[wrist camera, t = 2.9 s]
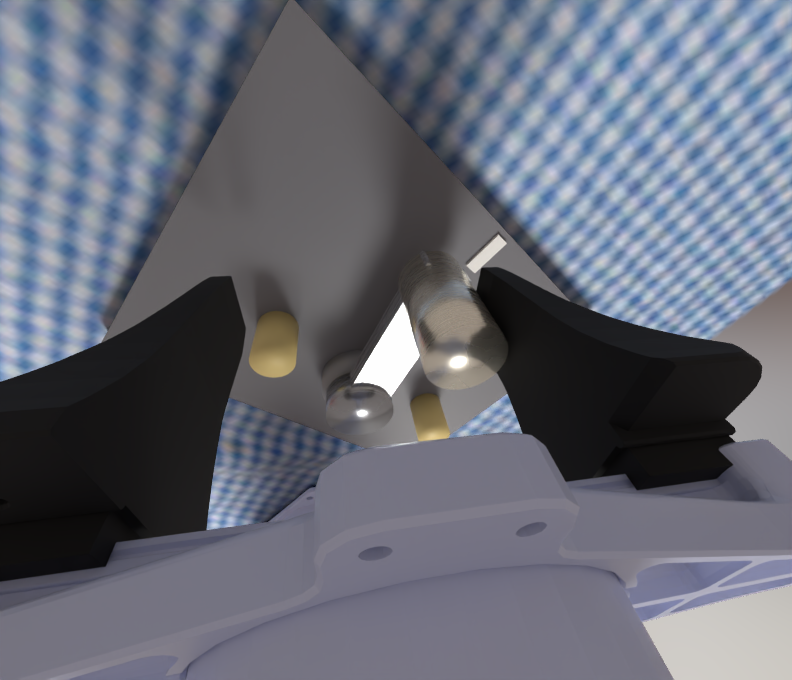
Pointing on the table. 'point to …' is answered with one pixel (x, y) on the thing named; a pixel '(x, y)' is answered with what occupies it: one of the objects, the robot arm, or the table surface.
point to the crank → (419, 344)
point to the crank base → (321, 235)
